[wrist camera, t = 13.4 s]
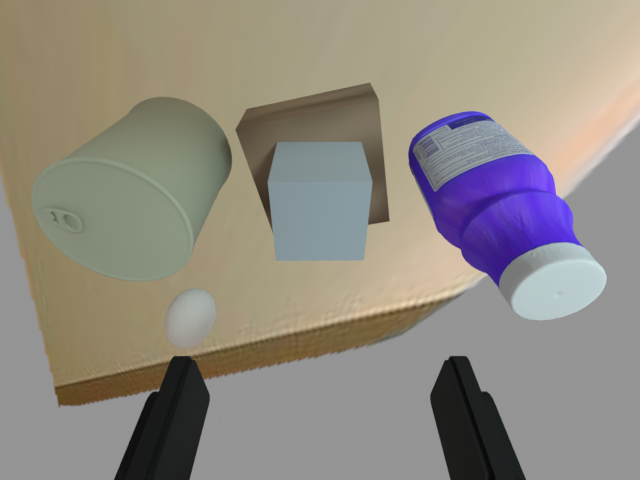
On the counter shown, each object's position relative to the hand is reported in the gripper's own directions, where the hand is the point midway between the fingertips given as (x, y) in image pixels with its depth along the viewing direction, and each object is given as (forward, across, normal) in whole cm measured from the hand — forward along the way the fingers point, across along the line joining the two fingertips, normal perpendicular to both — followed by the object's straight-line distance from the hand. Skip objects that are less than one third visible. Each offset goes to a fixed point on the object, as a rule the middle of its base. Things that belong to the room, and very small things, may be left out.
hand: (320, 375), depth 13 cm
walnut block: (+21, 0, 0) cm, 21 cm away
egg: (+21, +14, +18) cm, 31 cm away
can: (+21, +12, 0) cm, 24 cm away
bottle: (+21, -11, 0) cm, 24 cm away
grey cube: (+16, 0, 0) cm, 16 cm away
